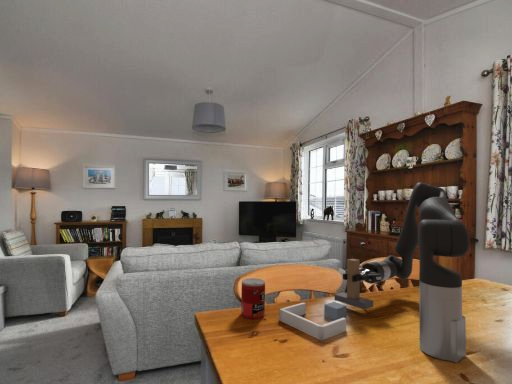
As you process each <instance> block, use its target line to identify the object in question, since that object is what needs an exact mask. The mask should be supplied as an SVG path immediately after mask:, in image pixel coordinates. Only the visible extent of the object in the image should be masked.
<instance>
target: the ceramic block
mask: <svg viewBox="0 0 512 384" xmlns="http://www.w3.org/2000/svg"><path fill="white" fill-rule="evenodd" d="M323 309H324V310H323V311H324V312H323V313H324V316H325V318H328V319H330V320H332V321H335V320H338V319H341V318H343V317H344V318H346V319H347V305H345V304H343V303H338V302H337V301H332V302H328V303H326V304H324V308H323Z"/></svg>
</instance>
